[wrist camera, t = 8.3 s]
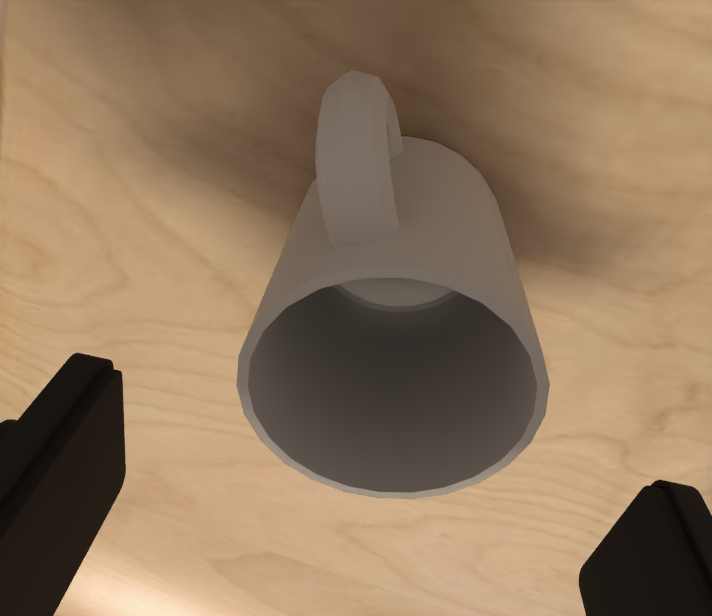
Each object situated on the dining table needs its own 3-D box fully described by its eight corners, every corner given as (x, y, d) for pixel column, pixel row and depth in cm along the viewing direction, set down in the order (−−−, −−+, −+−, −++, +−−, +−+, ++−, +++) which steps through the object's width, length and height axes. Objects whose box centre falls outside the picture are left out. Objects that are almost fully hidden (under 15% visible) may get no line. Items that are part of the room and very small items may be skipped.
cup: (327, 322, 23) (285, 507, 16) (250, 67, 18) (134, 166, 10) (507, 299, 22) (553, 489, 14) (482, 15, 16) (537, 86, 9)
